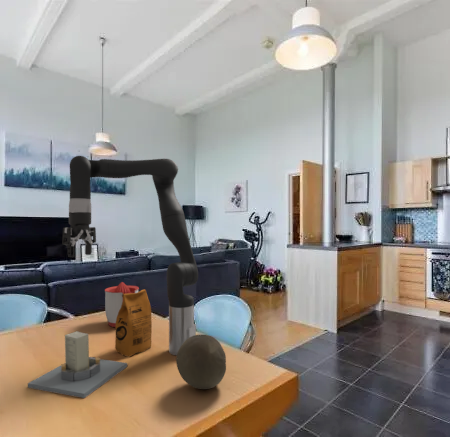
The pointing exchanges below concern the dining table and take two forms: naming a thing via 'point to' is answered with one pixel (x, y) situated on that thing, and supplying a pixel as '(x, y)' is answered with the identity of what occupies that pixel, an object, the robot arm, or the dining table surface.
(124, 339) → the coffee package
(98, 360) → the collar
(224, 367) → the dark grey round ball
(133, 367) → the dining table surface
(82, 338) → the skincare box
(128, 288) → the citrus juicer
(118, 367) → the board
